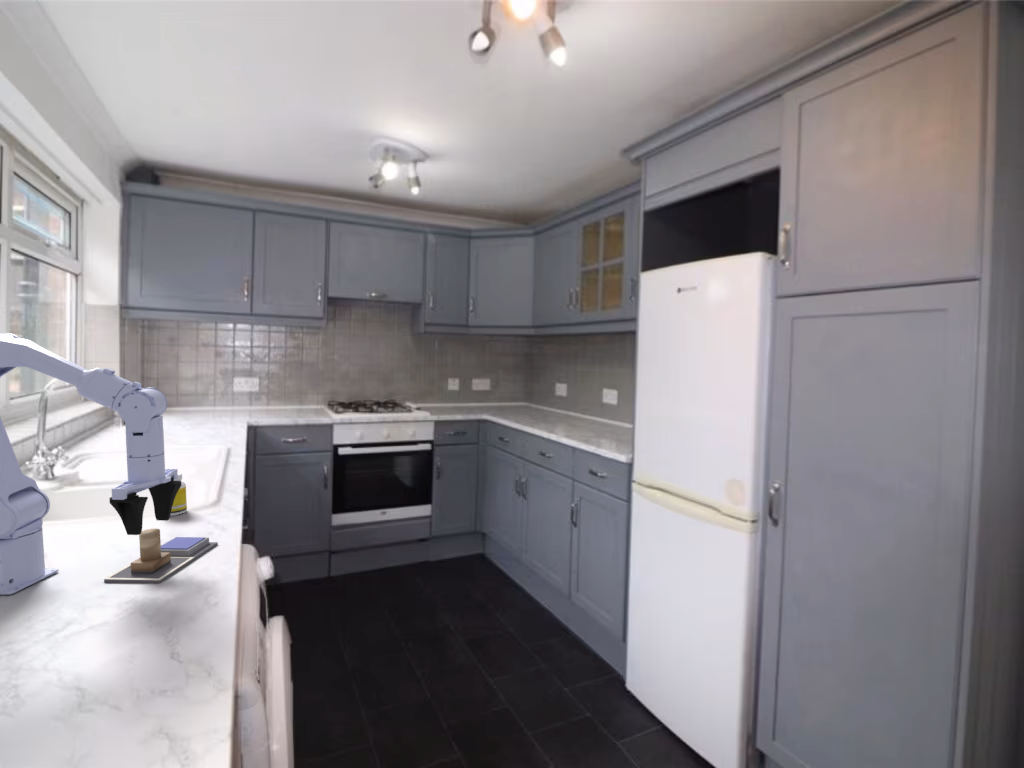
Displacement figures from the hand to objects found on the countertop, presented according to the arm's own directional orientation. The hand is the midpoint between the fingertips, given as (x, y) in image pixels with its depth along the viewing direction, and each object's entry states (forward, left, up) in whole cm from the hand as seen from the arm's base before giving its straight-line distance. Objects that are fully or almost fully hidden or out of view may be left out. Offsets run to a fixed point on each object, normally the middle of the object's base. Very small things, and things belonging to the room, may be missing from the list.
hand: (149, 526), depth 99 cm
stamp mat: (+4, 0, -8) cm, 9 cm away
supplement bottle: (+33, +17, -9) cm, 38 cm away
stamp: (0, 0, -8) cm, 8 cm away
